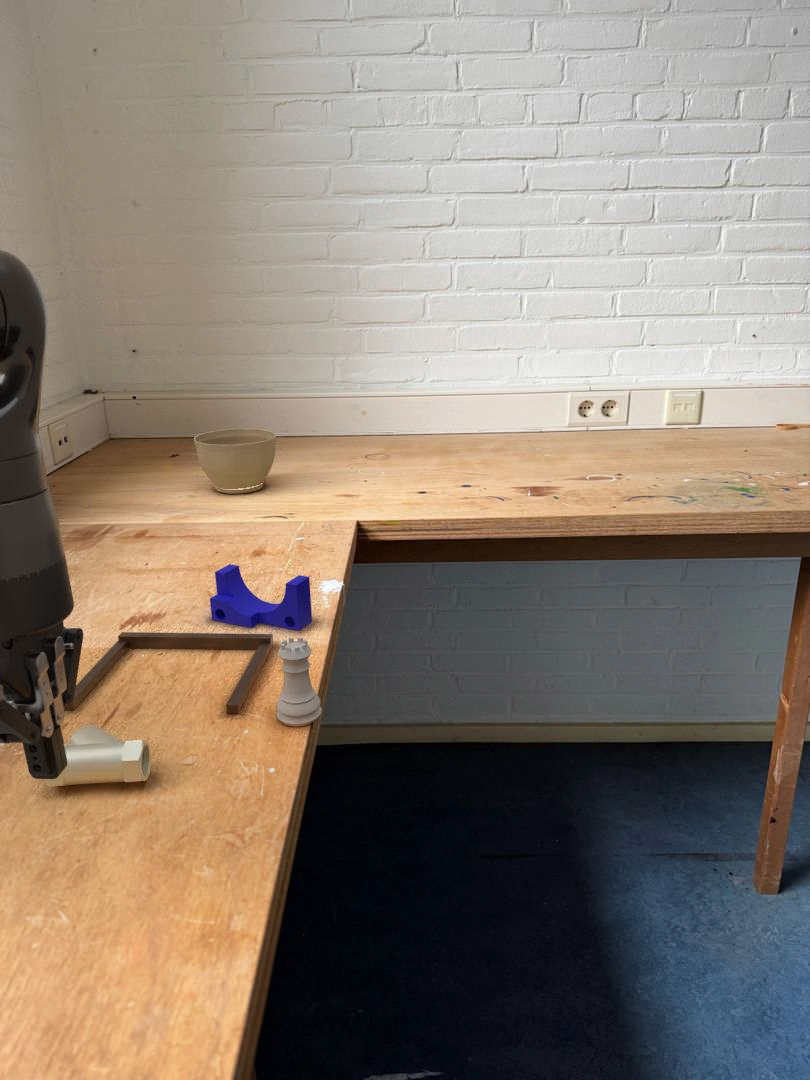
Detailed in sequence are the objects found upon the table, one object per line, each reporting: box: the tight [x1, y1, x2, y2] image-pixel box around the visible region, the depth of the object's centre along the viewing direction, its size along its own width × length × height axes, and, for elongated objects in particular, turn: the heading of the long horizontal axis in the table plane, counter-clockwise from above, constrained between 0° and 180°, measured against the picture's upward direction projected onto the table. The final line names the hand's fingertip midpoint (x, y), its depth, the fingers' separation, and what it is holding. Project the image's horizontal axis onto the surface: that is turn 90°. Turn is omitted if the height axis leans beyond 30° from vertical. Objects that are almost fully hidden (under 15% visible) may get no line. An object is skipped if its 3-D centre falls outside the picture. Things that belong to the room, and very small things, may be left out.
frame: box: [64, 631, 274, 714], centre depth 87 cm, size 18×15×2 cm
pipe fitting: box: [43, 724, 152, 788], centre depth 70 cm, size 8×4×7 cm
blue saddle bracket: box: [209, 563, 313, 632], centre depth 99 cm, size 12×4×6 cm, turn 65°
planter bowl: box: [193, 428, 277, 495], centre depth 161 cm, size 16×16×11 cm
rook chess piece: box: [275, 636, 323, 727], centre depth 77 cm, size 4×4×8 cm
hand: (49, 773), depth 60 cm, fingers closed
